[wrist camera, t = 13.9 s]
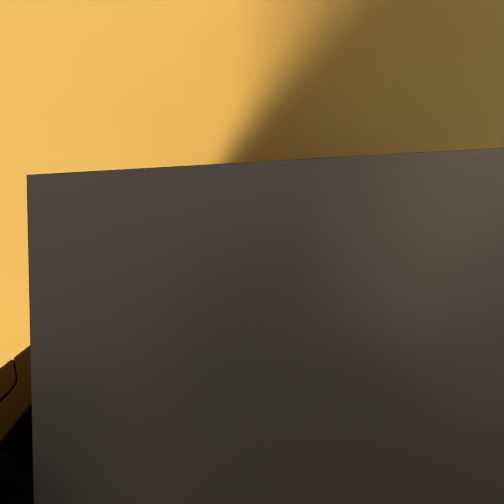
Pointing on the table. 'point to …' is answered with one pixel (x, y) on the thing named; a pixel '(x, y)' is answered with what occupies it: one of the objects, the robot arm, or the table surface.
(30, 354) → the robot arm
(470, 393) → the grey block
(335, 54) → the table surface
